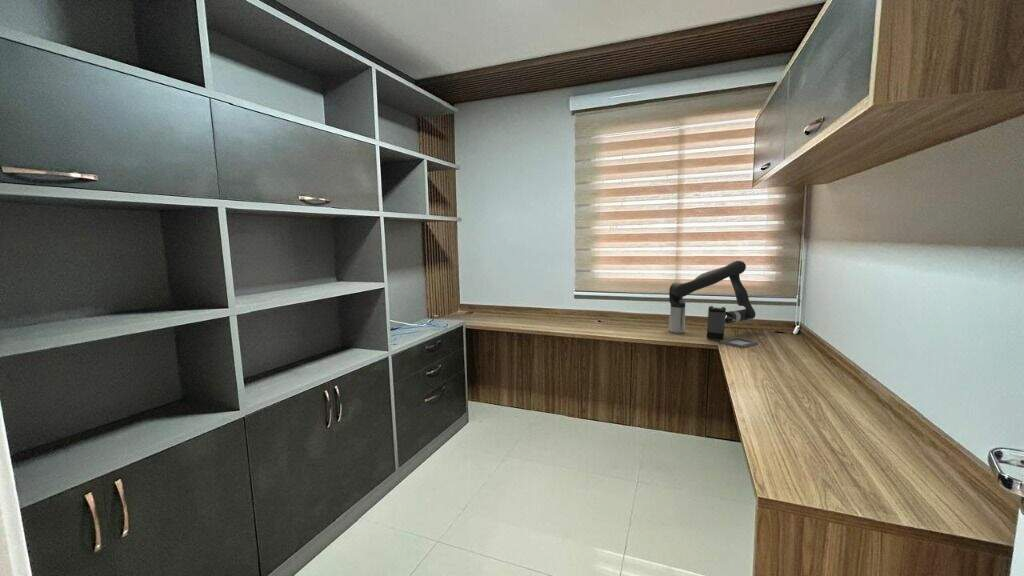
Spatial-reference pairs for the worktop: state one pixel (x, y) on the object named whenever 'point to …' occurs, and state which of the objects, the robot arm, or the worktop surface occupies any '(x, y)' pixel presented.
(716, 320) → the electronic device
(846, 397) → the worktop surface
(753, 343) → the charging dock
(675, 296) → the robot arm
